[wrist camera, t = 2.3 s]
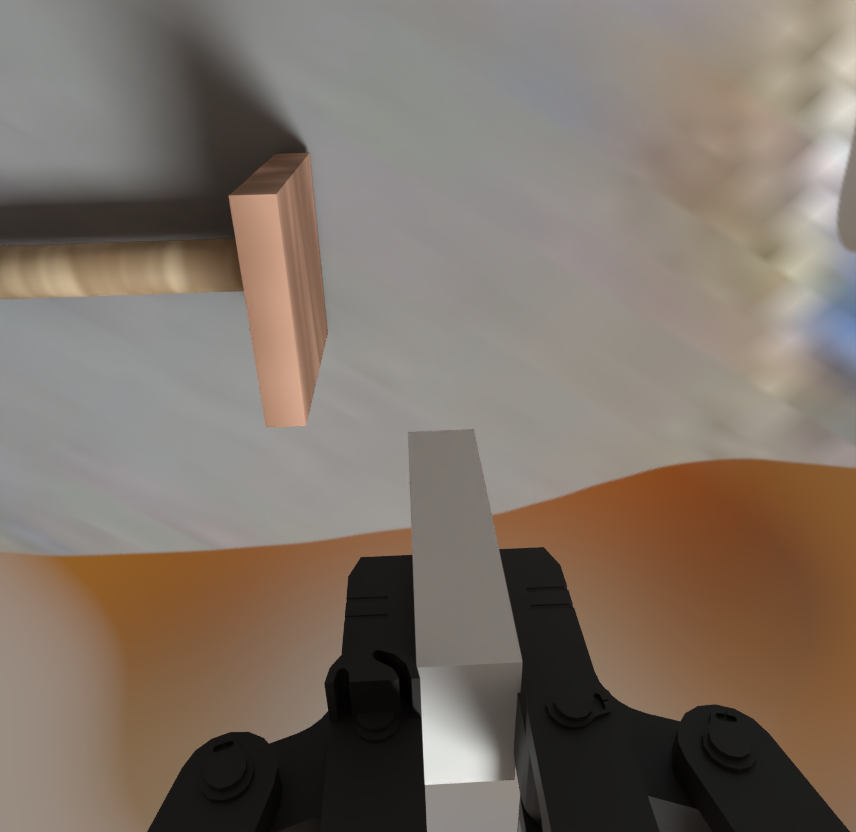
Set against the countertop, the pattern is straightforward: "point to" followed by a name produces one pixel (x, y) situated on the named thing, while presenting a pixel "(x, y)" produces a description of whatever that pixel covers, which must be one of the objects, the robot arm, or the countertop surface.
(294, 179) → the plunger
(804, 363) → the countertop surface
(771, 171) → the countertop surface
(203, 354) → the countertop surface
